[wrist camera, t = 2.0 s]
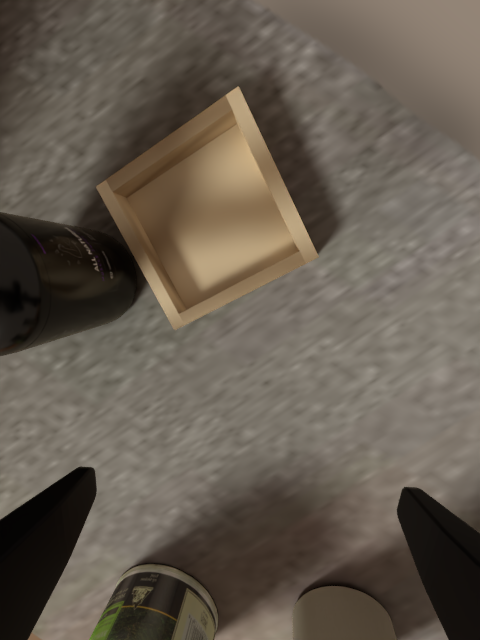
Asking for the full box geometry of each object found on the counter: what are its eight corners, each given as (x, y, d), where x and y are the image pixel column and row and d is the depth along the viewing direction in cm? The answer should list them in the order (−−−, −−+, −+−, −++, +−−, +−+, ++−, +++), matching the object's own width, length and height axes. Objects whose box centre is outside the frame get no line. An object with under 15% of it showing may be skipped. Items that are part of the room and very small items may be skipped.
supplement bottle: (150, 247, 20) (-46, 224, 8) (128, 335, 21) (-60, 422, 10) (63, 216, 20) (-237, 154, 9) (49, 304, 22) (-219, 352, 10)
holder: (314, 257, 18) (318, 257, 16) (185, 323, 20) (174, 330, 18) (244, 108, 17) (238, 85, 15) (116, 195, 19) (95, 186, 17)
